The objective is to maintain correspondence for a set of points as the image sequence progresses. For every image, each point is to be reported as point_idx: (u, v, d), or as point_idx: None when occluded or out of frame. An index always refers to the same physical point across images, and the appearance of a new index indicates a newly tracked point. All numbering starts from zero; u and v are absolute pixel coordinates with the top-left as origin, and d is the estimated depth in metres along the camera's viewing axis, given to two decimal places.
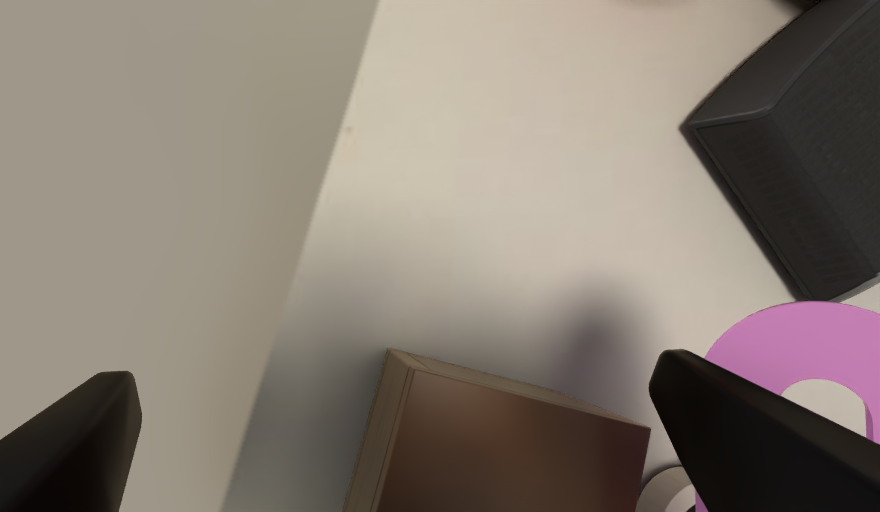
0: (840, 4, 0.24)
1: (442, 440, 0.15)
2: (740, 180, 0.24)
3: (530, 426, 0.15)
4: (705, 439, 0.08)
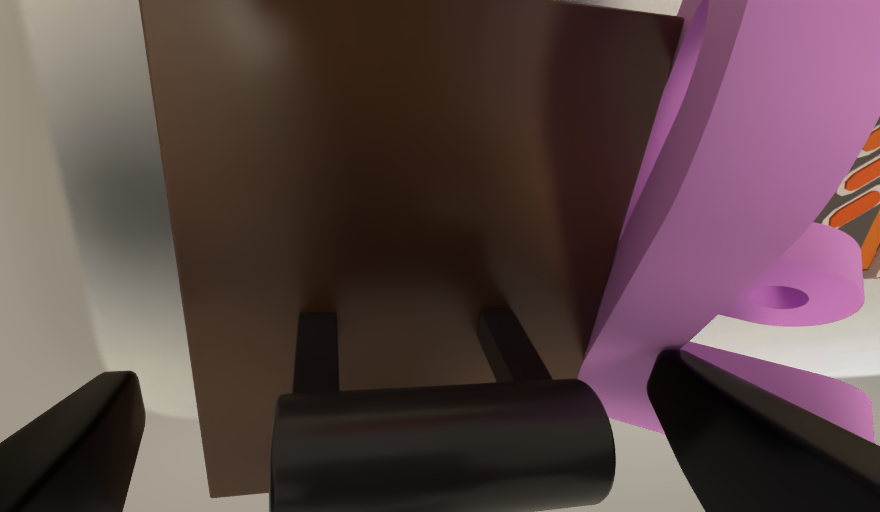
0: None
1: (253, 101, 0.07)
2: None
3: (431, 46, 0.08)
4: (702, 439, 0.08)
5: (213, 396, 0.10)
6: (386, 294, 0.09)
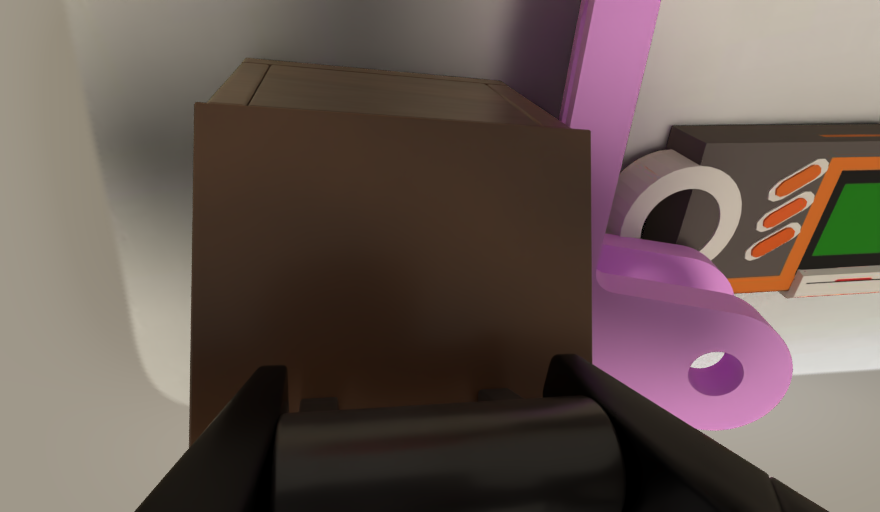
0: None
1: (271, 201, 0.09)
2: None
3: (406, 156, 0.10)
4: None
5: None
6: (384, 375, 0.10)
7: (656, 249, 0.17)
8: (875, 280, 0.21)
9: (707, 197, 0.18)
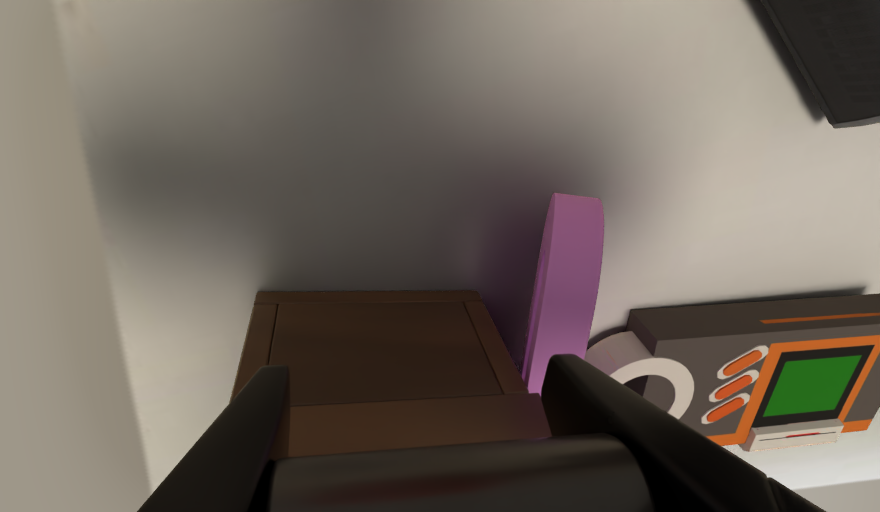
0: None
1: None
2: None
3: (391, 423, 0.12)
4: None
5: None
6: None
7: None
8: (822, 434, 0.23)
9: (662, 379, 0.20)
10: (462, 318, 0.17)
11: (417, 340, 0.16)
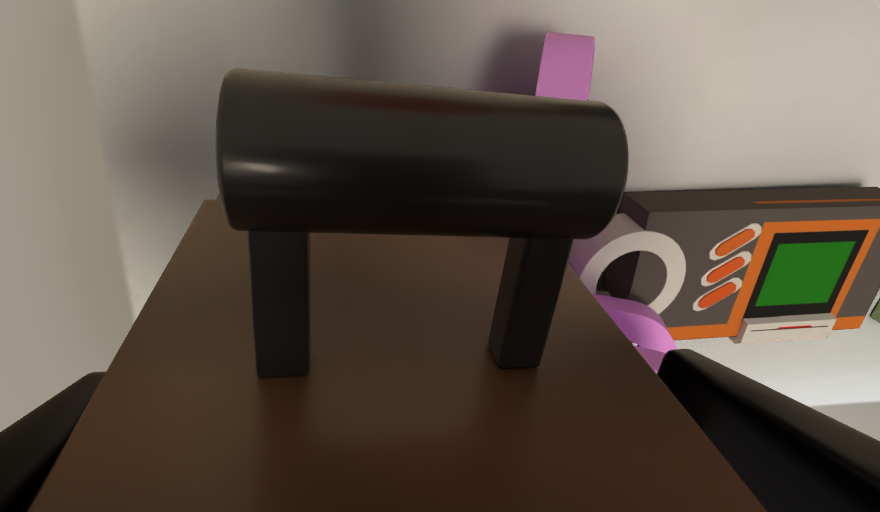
0: None
1: None
2: None
3: None
4: (710, 439, 0.08)
5: (85, 461, 0.05)
6: (368, 330, 0.08)
7: (607, 305, 0.20)
8: (814, 327, 0.23)
9: (654, 257, 0.20)
10: None
11: None
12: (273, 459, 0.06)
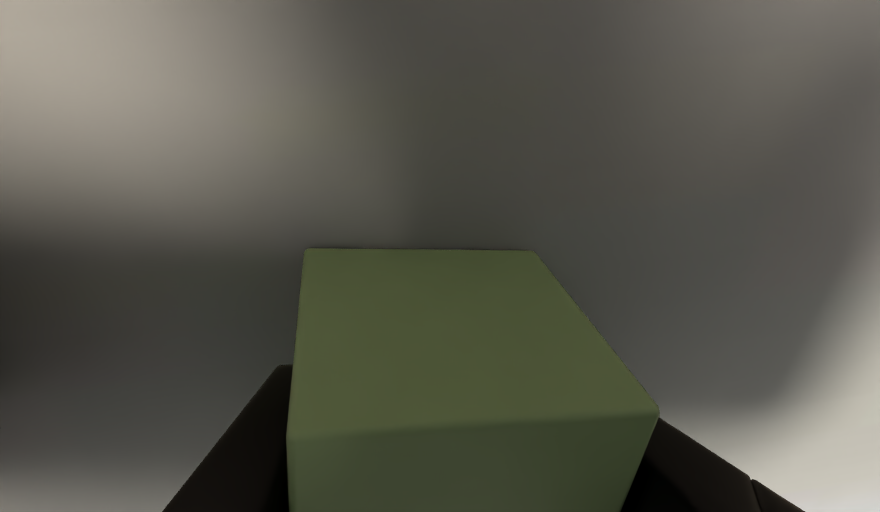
0: None
1: None
2: None
3: None
4: None
5: None
6: None
7: None
8: None
9: None
10: None
11: None
12: None
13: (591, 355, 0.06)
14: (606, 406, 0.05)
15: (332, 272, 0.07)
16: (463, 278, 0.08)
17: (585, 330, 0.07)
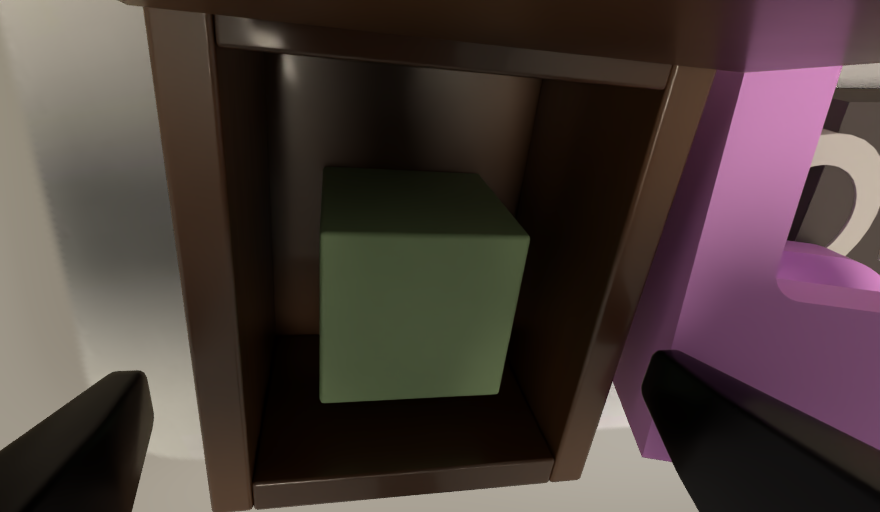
0: None
1: None
2: None
3: None
4: (696, 440, 0.08)
5: None
6: None
7: (786, 247, 0.13)
8: None
9: (841, 177, 0.14)
10: None
11: None
12: None
13: (498, 216, 0.10)
14: (498, 234, 0.10)
15: (341, 177, 0.12)
16: (426, 183, 0.12)
17: (498, 207, 0.11)
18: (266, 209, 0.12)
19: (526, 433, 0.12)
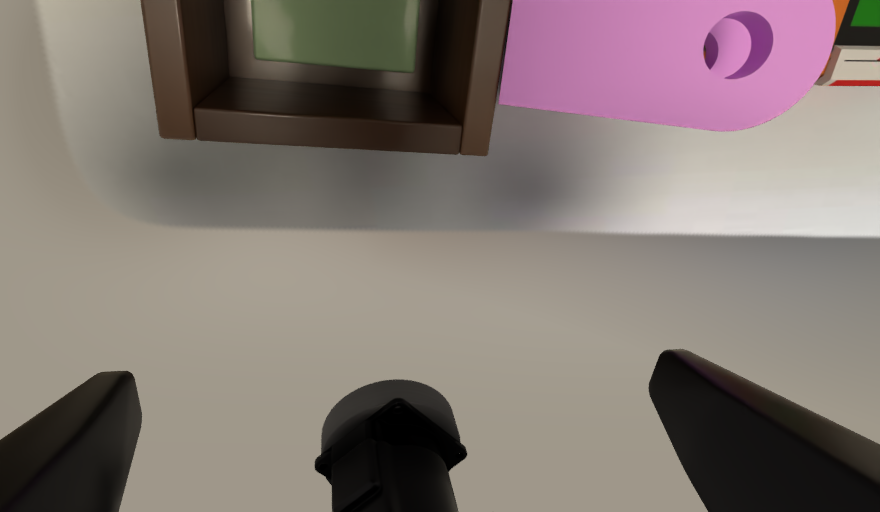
0: None
1: None
2: None
3: None
4: (705, 439, 0.08)
5: None
6: None
7: None
8: None
9: None
10: None
11: None
12: None
13: None
14: None
15: None
16: None
17: None
18: None
19: (441, 117, 0.14)
